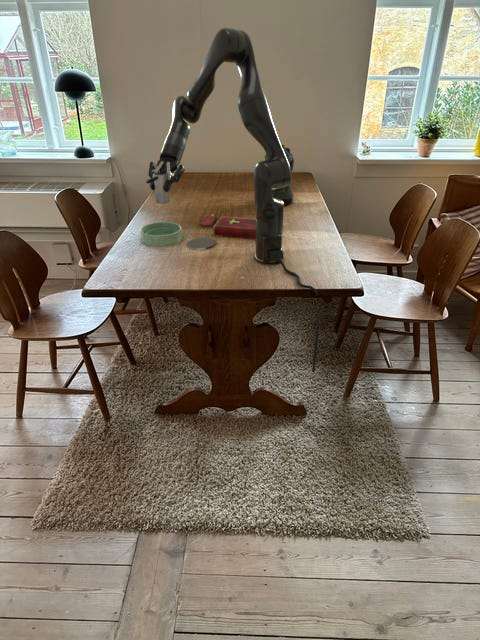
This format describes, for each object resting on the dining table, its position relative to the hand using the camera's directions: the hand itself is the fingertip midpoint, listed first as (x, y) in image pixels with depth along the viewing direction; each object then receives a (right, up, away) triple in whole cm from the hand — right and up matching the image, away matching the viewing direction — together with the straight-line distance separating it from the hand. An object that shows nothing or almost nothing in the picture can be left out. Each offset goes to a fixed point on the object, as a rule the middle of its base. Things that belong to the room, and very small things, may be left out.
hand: (159, 190), depth 162 cm
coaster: (+14, -18, +8) cm, 25 cm away
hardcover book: (+30, -12, +18) cm, 37 cm away
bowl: (-1, -16, +12) cm, 20 cm away
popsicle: (+16, -5, +30) cm, 34 cm away
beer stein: (+46, +10, +55) cm, 72 cm away
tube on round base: (0, -4, +2) cm, 5 cm away
